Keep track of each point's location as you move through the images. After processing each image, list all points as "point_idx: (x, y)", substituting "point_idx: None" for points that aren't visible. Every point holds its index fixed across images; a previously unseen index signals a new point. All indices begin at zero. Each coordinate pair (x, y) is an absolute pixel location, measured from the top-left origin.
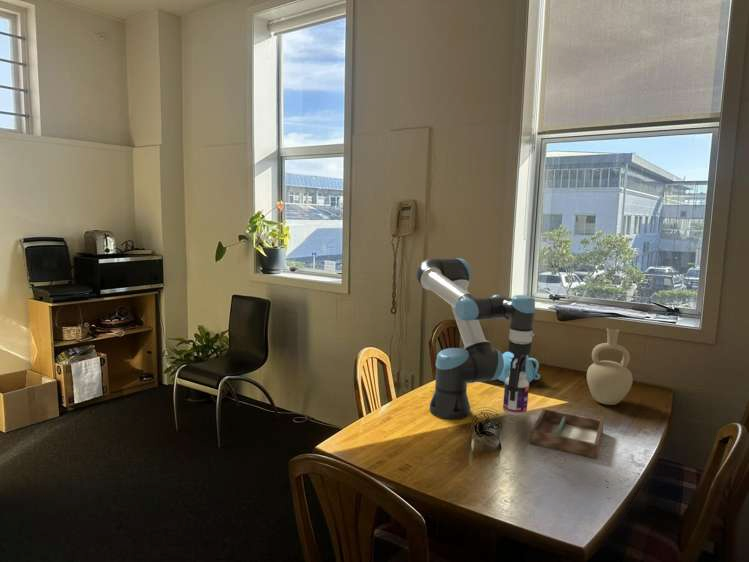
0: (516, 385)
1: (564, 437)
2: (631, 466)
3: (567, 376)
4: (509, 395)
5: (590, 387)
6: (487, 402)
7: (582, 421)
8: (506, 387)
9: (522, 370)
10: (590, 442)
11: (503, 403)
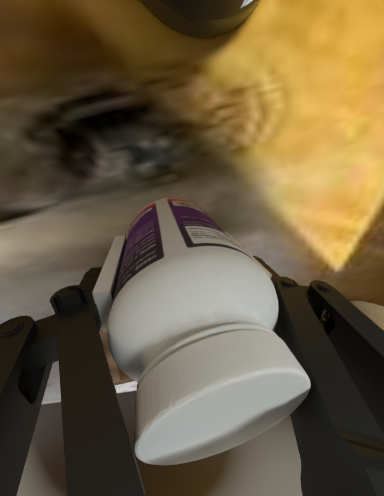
0: (41, 400)
1: (108, 348)
2: (127, 383)
3: None
4: (101, 273)
5: (366, 315)
6: (325, 95)
7: None
8: (131, 265)
9: (295, 424)
10: (118, 377)
11: (154, 207)
